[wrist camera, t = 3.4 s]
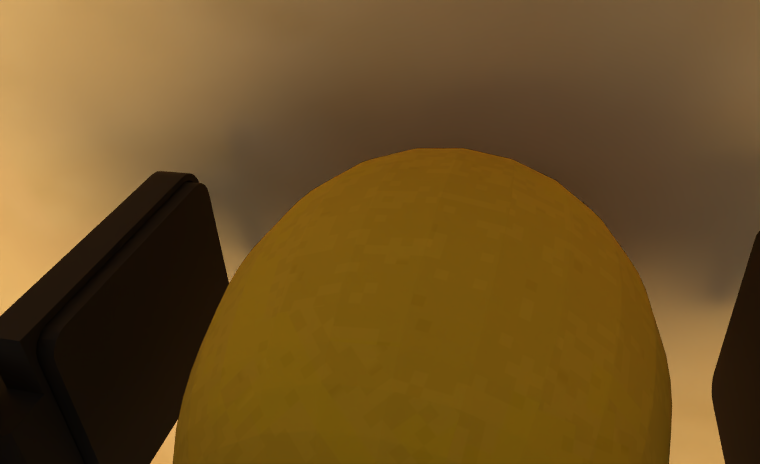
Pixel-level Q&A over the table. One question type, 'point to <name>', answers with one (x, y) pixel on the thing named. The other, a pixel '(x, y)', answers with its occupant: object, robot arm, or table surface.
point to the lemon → (432, 329)
